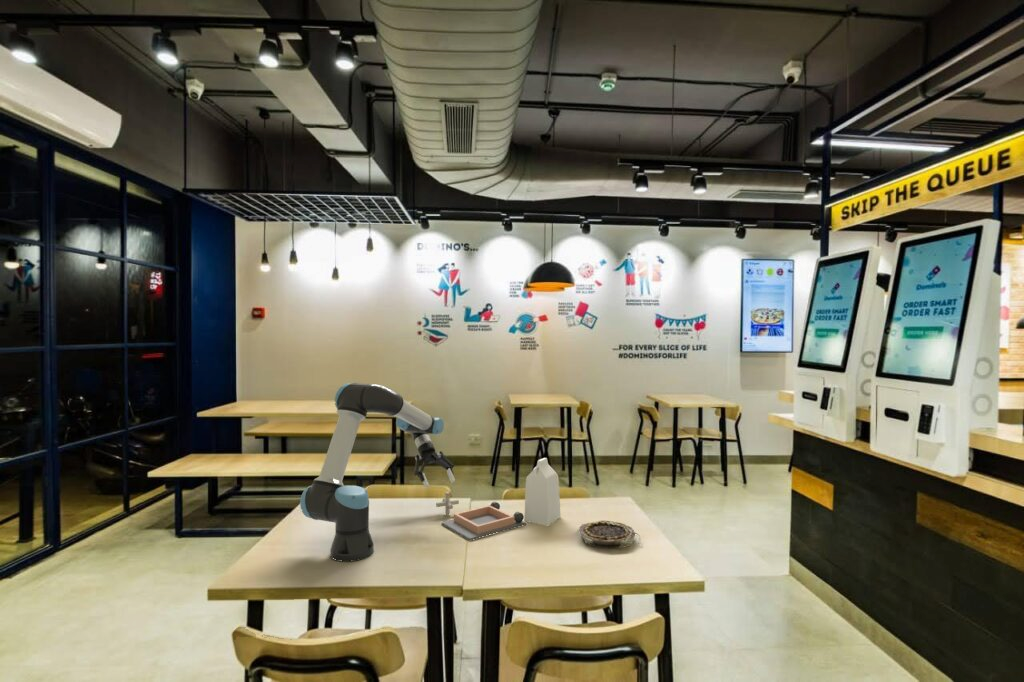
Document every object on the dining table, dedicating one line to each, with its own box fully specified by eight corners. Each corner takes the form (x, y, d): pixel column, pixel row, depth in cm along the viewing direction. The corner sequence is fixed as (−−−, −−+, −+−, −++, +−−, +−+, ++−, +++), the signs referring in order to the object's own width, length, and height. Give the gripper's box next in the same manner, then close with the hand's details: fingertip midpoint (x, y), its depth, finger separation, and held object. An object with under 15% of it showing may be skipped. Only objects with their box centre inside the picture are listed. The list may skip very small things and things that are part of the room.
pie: (644, 558, 180) (643, 544, 180) (567, 553, 186) (567, 539, 186) (640, 529, 207) (640, 517, 207) (573, 525, 213) (573, 513, 213)
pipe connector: (433, 513, 227) (433, 490, 227) (454, 509, 231) (454, 488, 231) (440, 520, 218) (439, 497, 218) (461, 516, 222) (461, 494, 222)
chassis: (469, 541, 195) (469, 528, 195) (441, 524, 213) (441, 512, 213) (526, 524, 212) (526, 512, 212) (495, 510, 230) (495, 499, 230)
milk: (548, 526, 211) (547, 463, 211) (524, 520, 217) (524, 460, 217) (560, 517, 221) (560, 458, 221) (537, 512, 227) (537, 455, 227)
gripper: (444, 447, 253) (460, 483, 241) (398, 454, 238) (413, 493, 226) (450, 438, 249) (466, 475, 237) (403, 444, 233) (418, 484, 221)
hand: (440, 484), depth 231 cm, fingers open, 13 cm apart
